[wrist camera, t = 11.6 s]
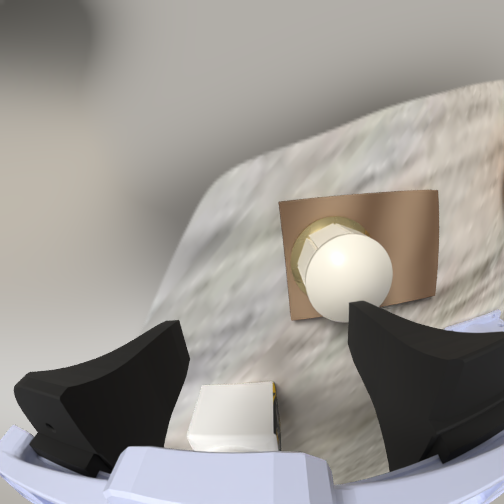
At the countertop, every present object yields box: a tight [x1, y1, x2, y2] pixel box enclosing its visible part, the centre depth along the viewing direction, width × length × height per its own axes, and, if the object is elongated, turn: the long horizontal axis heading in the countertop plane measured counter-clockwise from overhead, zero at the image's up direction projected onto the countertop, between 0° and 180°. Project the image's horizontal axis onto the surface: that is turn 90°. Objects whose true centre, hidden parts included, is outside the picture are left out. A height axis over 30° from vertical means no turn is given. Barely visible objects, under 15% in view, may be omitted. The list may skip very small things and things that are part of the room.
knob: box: [290, 216, 371, 295], centre depth 18 cm, size 6×6×3 cm
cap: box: [297, 223, 393, 322], centre depth 17 cm, size 5×5×4 cm
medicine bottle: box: [187, 381, 281, 452], centre depth 19 cm, size 7×7×12 cm
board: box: [279, 190, 439, 320], centre depth 20 cm, size 13×9×1 cm
